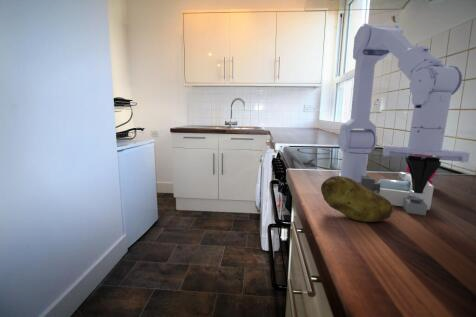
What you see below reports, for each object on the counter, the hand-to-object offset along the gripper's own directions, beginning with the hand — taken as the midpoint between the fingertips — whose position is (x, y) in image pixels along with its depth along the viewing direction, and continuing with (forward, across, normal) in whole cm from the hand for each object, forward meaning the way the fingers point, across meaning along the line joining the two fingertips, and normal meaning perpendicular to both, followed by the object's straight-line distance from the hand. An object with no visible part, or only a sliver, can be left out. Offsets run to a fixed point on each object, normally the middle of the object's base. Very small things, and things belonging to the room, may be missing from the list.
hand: (417, 191), depth 55 cm
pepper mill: (+5, +6, +25) cm, 26 cm away
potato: (+5, -12, -9) cm, 16 cm away
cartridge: (+4, -4, +6) cm, 8 cm away
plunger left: (+3, 0, +12) cm, 12 cm away
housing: (+4, -2, +6) cm, 8 cm away
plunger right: (+4, 0, 0) cm, 4 cm away
